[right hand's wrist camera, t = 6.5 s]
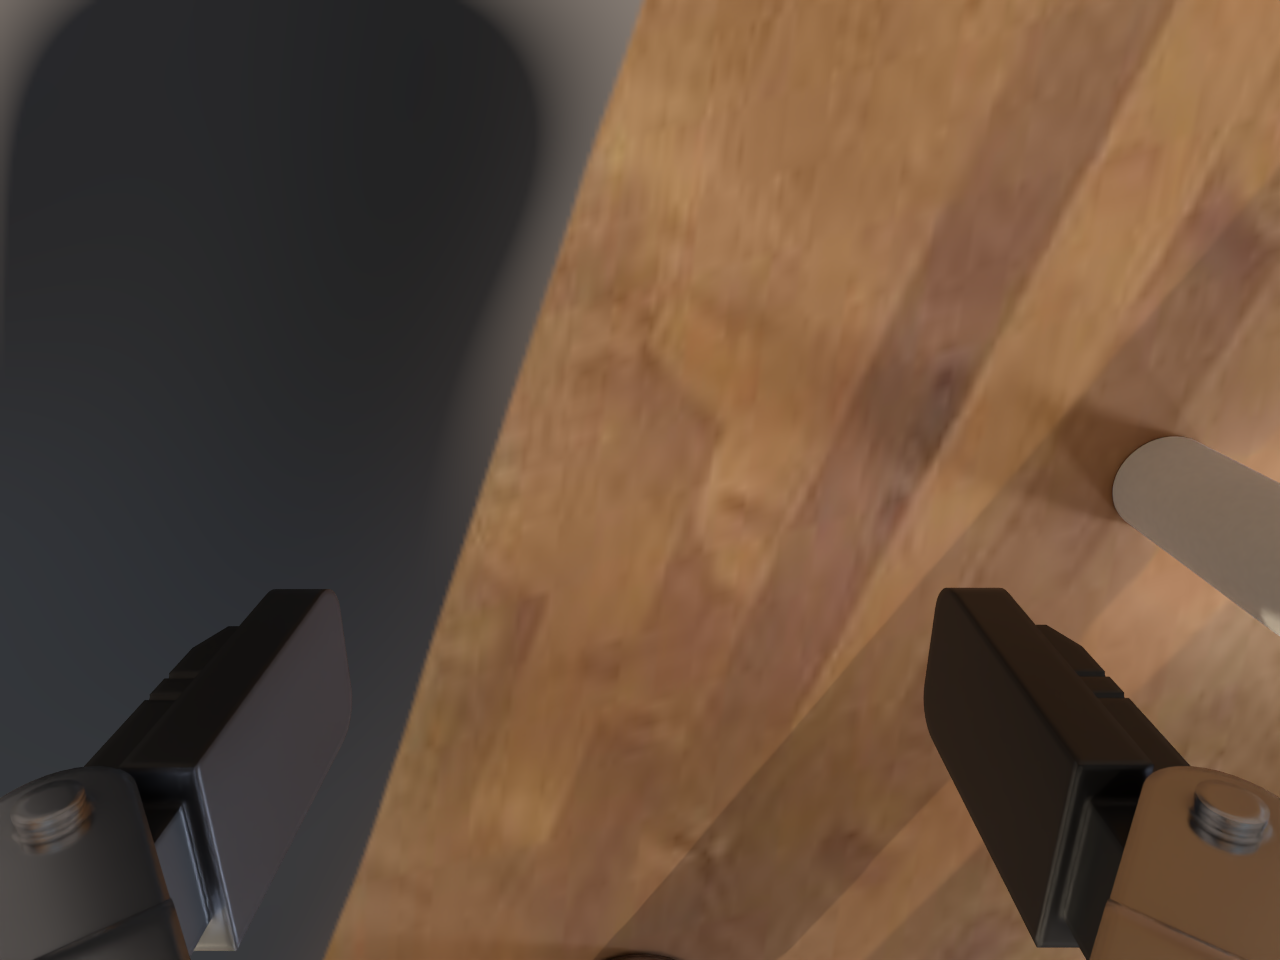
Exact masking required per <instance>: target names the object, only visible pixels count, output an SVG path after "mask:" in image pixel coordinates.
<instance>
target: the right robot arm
mask: <svg viewBox="0 0 1280 960" xmlns="http://www.w3.org/2000/svg"><path fill="white" fill-rule="evenodd" d="M351 709H352V690H351V682H350V675H349V668H348V661H347V654H346V647H345V640H344V633H343V626H342V619H341V612H340V606H339V602H338V599H337V596H336V594H335V593H334V592H333V591H332V590H330V589H274V590H271V591H270V592H268V593H267V595H266V596H265V597H264V598H263V599H262V600H261V601H260V603H259V604H258V605H257V606H256V607H255V608H254V610H253V611H252V612H251V613H250V614H249V615H248V617H247V618H246V619H245V620H244V621H243V622H242V624H241V625H240V626H229V627H227V628H225V629H223V630H222V631H220V632H218V633H217V634H215V635H213V636H212V637H210V638H208V639H207V640H205V641H203V642H202V643H200V644H198V645H197V646H195V647H193V648H192V649H191V650H190V651H189V653H188V654H187V655H186V656H185V657H184V658H183V659H182V660H181V661H180V662H179V663H178V665H177V666H176V667H175V668H174V669H173V670H172V671H171V672H170V673H169V679H164V680H163V681H162V682H161V683H160V684H159V685H158V686H157V687H156V689H155V690H154V691H153V692H152V693H151V694H150V699H149V700H145V701H144V702H143V703H142V704H141V705H140V706H139V707H138V708H137V709H136V710H135V712H134V713H133V714H132V715H131V716H130V717H129V718H128V719H127V720H126V721H125V722H124V723H123V725H122V726H121V727H120V728H119V729H118V730H117V731H116V732H115V733H114V734H113V735H112V737H111V738H110V739H109V740H108V741H107V742H106V743H105V744H104V745H103V746H102V747H101V749H100V750H99V751H98V752H97V753H96V754H95V755H94V756H93V757H92V758H91V759H90V761H89V762H88V763H87V764H86V765H85V766H84V767H80V768H73V769H69V770H64V771H60V772H56V773H53V774H50V775H46V776H44V777H41V778H39V779H36V780H34V781H31V782H29V783H27V784H25V785H23V786H21V787H19V788H17V789H15V790H13V791H11V792H10V793H8V794H6V795H4V796H3V797H1V798H0V960H191V959H190V956H191V954H192V952H193V951H236V950H237V949H238V947H239V945H240V943H241V941H242V939H243V937H244V935H245V933H246V931H247V929H248V927H249V925H250V923H251V921H252V919H253V917H254V915H255V914H256V911H257V910H258V908H259V905H260V904H261V902H262V900H263V898H264V896H265V894H266V892H267V890H268V888H269V886H270V884H271V882H272V880H273V878H274V876H275V874H276V872H277V870H278V868H279V866H280V864H281V863H282V861H283V859H284V857H285V855H286V853H287V851H288V849H289V847H290V845H291V843H292V841H293V839H294V837H295V835H296V833H297V831H298V829H299V827H300V825H301V823H302V821H303V819H304V817H305V815H306V813H307V811H308V810H309V808H310V806H311V804H312V802H313V800H314V798H315V796H316V794H317V792H318V790H319V788H320V786H321V784H322V782H323V780H324V778H325V776H326V774H327V772H328V770H329V768H330V766H331V764H332V763H333V761H334V759H335V757H336V755H337V753H338V751H339V749H340V747H341V745H342V743H343V741H344V739H345V737H346V734H347V731H348V727H349V723H350V717H351ZM924 711H925V718H926V723H927V727H928V730H929V733H930V736H931V738H932V740H933V742H934V744H935V746H936V748H937V750H938V752H939V754H940V756H941V758H942V760H943V762H944V764H945V766H946V768H947V770H948V772H949V774H950V776H951V778H952V780H953V782H954V784H955V786H956V788H957V790H958V792H959V794H960V796H961V798H962V800H963V802H964V804H965V806H966V808H967V810H968V812H969V814H970V816H971V818H972V820H973V822H974V824H975V826H976V827H977V829H978V831H979V833H980V835H981V837H982V839H983V841H984V843H985V845H986V847H987V849H988V851H989V853H990V855H991V857H992V859H993V861H994V863H995V865H996V867H997V869H998V871H999V873H1000V875H1001V877H1002V879H1003V881H1004V883H1005V885H1006V887H1007V889H1008V891H1009V893H1010V895H1011V897H1012V899H1013V901H1014V903H1015V905H1016V907H1017V909H1018V911H1019V913H1020V915H1021V917H1022V919H1023V921H1024V923H1025V925H1026V927H1027V929H1028V931H1029V933H1030V935H1031V937H1032V939H1033V941H1034V943H1035V945H1036V947H1080V949H1081V951H1082V953H1083V955H1084V956H1085V958H1086V960H1280V798H1279V797H1277V796H1276V795H1274V794H1272V793H1270V792H1269V791H1267V790H1265V789H1263V788H1262V787H1259V786H1257V785H1255V784H1253V783H1251V782H1249V781H1246V780H1244V779H1241V778H1239V777H1236V776H1234V775H1230V774H1227V773H1224V772H1220V771H1216V770H1212V769H1207V768H1201V767H1193V766H1190V765H1189V764H1188V763H1187V762H1186V761H1185V759H1184V758H1183V757H1182V756H1181V755H1180V754H1179V753H1178V752H1177V751H1176V749H1175V748H1174V747H1173V746H1172V745H1171V744H1170V743H1169V742H1168V741H1167V740H1166V738H1165V737H1164V736H1163V735H1162V734H1161V733H1160V732H1159V731H1158V730H1157V729H1156V727H1155V726H1154V725H1153V724H1152V723H1151V722H1150V721H1149V720H1148V719H1147V718H1146V716H1145V715H1144V714H1143V713H1142V712H1141V711H1140V710H1139V709H1138V708H1137V707H1136V705H1135V704H1134V703H1133V702H1132V701H1131V700H1130V699H1129V698H1124V692H1123V691H1122V690H1121V689H1120V688H1119V687H1118V686H1117V684H1116V683H1115V682H1114V681H1113V680H1112V679H1111V678H1110V677H1105V671H1104V670H1103V669H1102V668H1101V667H1100V666H1099V665H1098V664H1097V662H1096V661H1095V660H1094V659H1093V658H1092V657H1091V656H1090V655H1089V654H1088V653H1087V651H1086V650H1085V649H1084V648H1083V647H1082V646H1080V645H1079V644H1077V643H1075V642H1074V641H1072V640H1071V639H1069V638H1067V637H1066V636H1064V635H1062V634H1061V633H1059V632H1057V631H1056V630H1054V629H1052V628H1051V627H1049V626H1047V625H1035V624H1034V623H1033V621H1032V620H1031V619H1030V618H1029V617H1028V615H1027V614H1026V613H1025V612H1024V611H1023V610H1022V608H1021V607H1020V606H1019V605H1018V604H1017V603H1016V601H1015V600H1014V599H1013V598H1012V597H1011V595H1010V594H1009V593H1008V592H1007V591H1006V590H1004V589H1003V588H944V589H943V590H942V591H941V592H940V594H939V596H938V598H937V602H936V607H935V614H934V621H933V628H932V635H931V643H930V650H929V657H928V664H927V671H926V678H925V685H924ZM610 960H674V959H671V958H667V957H664V956H658V955H650V954H634V955H626V956H621V957H617V958H613V959H610Z"/></svg>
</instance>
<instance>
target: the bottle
mask: <svg viewBox="0 0 1280 960" xmlns="http://www.w3.org/2000/svg"><path fill="white" fill-rule="evenodd" d="M1113 502H1114V505H1115V508H1116V510H1117V512H1118V514H1119V515H1120V516H1121V517H1122V519H1123V520H1124V521H1126V522H1127V523H1128V524H1130V525H1131V526H1132V527H1134V528H1135V529H1136V530H1138V531H1139V532H1140V533H1142V534H1143V535H1144V536H1146V537H1147V538H1148V539H1150V540H1151V541H1152V542H1154V543H1155V544H1156V545H1158V546H1159V547H1160V548H1162V549H1163V550H1165V551H1166V552H1167V553H1169V554H1170V555H1171V556H1173V557H1174V558H1175V559H1177V560H1178V561H1179V562H1181V563H1182V564H1183V565H1185V566H1186V567H1187V568H1189V569H1190V570H1191V571H1193V572H1194V573H1195V574H1197V575H1198V576H1199V577H1201V578H1202V579H1203V580H1205V581H1206V582H1207V583H1209V584H1210V585H1211V586H1213V587H1214V588H1215V589H1217V590H1218V591H1219V592H1221V593H1222V594H1223V595H1225V596H1226V597H1227V598H1229V599H1230V600H1232V601H1233V602H1234V603H1236V604H1237V605H1238V606H1240V607H1241V608H1242V609H1244V610H1245V611H1246V612H1248V613H1249V614H1250V615H1252V616H1253V617H1254V618H1256V619H1257V620H1258V621H1260V622H1261V623H1262V624H1264V625H1265V626H1266V627H1268V628H1269V629H1270V630H1272V631H1273V632H1274V633H1276V634H1277V635H1278V636H1280V483H1278V482H1276V481H1274V480H1272V479H1270V478H1268V477H1266V476H1265V475H1263V474H1261V473H1259V472H1257V471H1255V470H1253V469H1251V468H1249V467H1247V466H1245V465H1243V464H1241V463H1239V462H1237V461H1235V460H1233V459H1231V458H1229V457H1227V456H1225V455H1223V454H1221V453H1219V452H1217V451H1215V450H1213V449H1211V448H1209V447H1207V446H1205V445H1203V444H1201V443H1199V442H1197V441H1195V440H1193V439H1190V438H1186V437H1179V436H1171V437H1164V438H1160V439H1156V440H1153V441H1151V442H1148V443H1147V444H1145V445H1143V446H1141V447H1140V448H1138V449H1137V450H1136V451H1134V452H1133V453H1132V454H1131V455H1130V456H1129V457H1128V458H1127V459H1126V460H1125V461H1124V463H1123V464H1122V465H1121V467H1120V469H1119V470H1118V473H1117V475H1116V477H1115V480H1114V484H1113Z"/></svg>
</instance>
